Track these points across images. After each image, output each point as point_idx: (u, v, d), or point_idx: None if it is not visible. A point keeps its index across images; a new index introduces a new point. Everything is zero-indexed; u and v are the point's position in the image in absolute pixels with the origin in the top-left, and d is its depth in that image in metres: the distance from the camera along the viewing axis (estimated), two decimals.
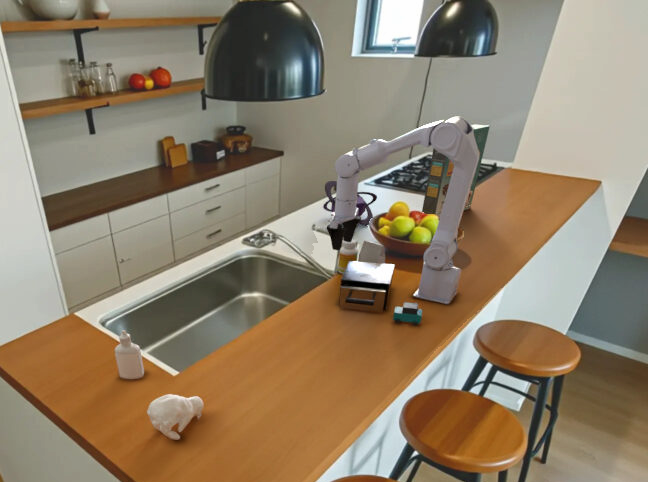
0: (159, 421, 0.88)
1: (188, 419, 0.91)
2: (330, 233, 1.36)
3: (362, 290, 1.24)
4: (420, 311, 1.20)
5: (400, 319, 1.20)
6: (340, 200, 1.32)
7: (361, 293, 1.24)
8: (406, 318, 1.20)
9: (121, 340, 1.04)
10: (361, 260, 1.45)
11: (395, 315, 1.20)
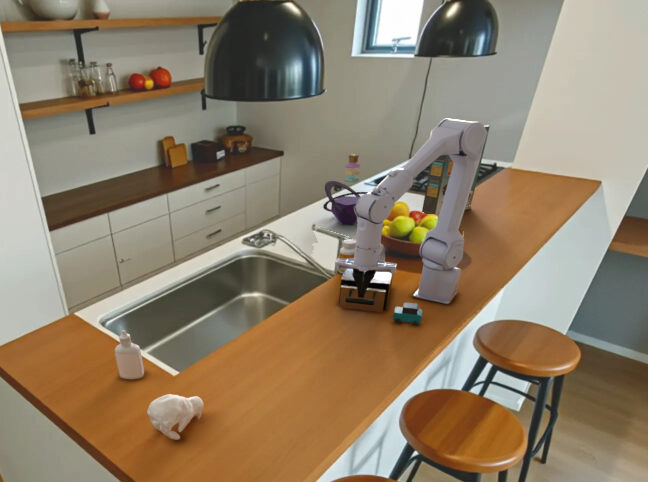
0: (159, 421, 0.88)
1: (188, 419, 0.91)
2: (370, 281, 1.19)
3: None
4: (420, 311, 1.20)
5: (400, 319, 1.20)
6: (379, 246, 1.14)
7: None
8: (406, 318, 1.20)
9: (121, 340, 1.04)
10: None
11: (395, 315, 1.20)
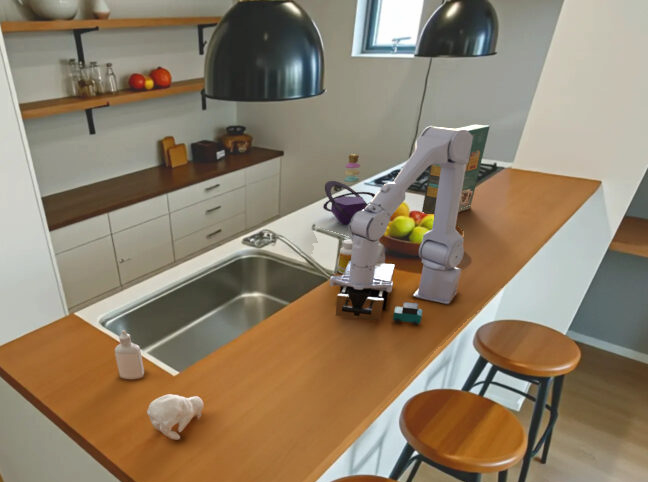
0: (159, 421, 0.88)
1: (188, 419, 0.91)
2: None
3: None
4: (420, 311, 1.20)
5: (400, 319, 1.20)
6: (375, 264, 1.11)
7: None
8: (406, 318, 1.20)
9: (121, 340, 1.04)
10: None
11: (395, 315, 1.20)
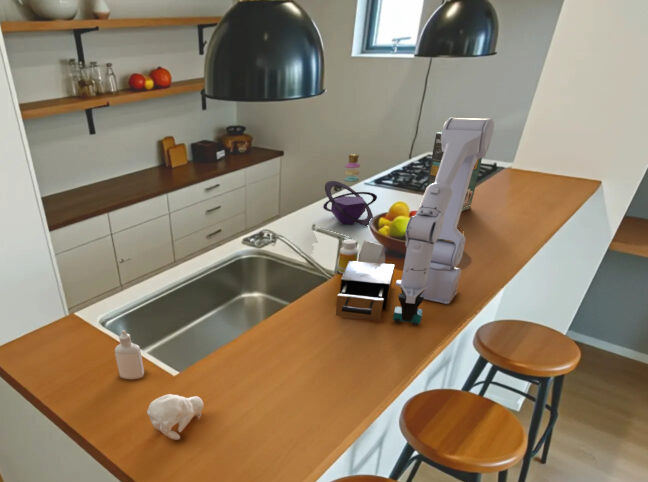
0: (159, 421, 0.88)
1: (188, 419, 0.91)
2: (403, 304, 1.16)
3: (359, 298, 1.20)
4: (420, 311, 1.20)
5: (400, 319, 1.20)
6: (414, 269, 1.12)
7: (358, 301, 1.21)
8: None
9: (121, 340, 1.04)
10: (361, 260, 1.45)
11: (395, 315, 1.20)
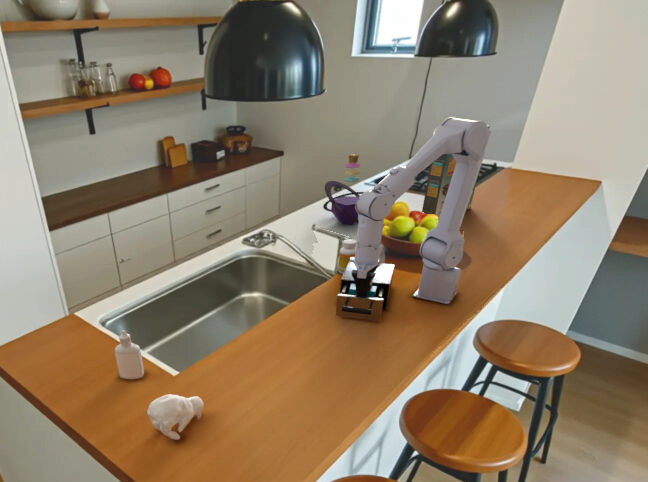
0: (159, 421, 0.88)
1: (188, 419, 0.91)
2: (356, 280, 1.19)
3: (359, 298, 1.20)
4: (374, 287, 1.23)
5: None
6: (365, 245, 1.15)
7: (358, 301, 1.21)
8: None
9: (121, 340, 1.04)
10: None
11: (350, 292, 1.24)
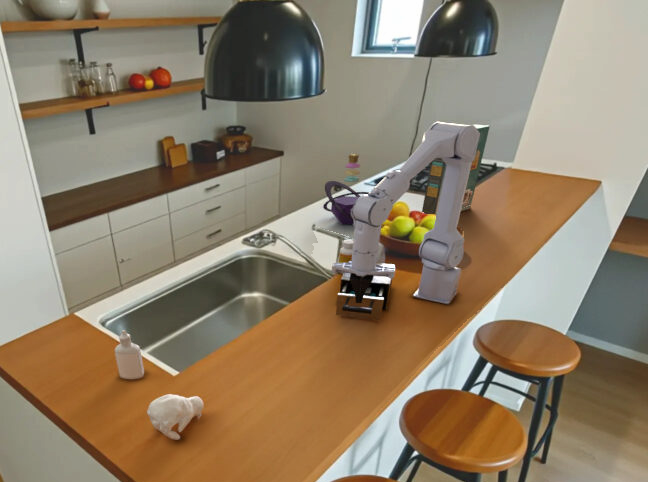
0: (159, 421, 0.88)
1: (188, 419, 0.91)
2: (368, 286, 1.15)
3: None
4: (373, 295, 1.24)
5: None
6: (377, 250, 1.11)
7: None
8: None
9: (121, 340, 1.04)
10: None
11: None
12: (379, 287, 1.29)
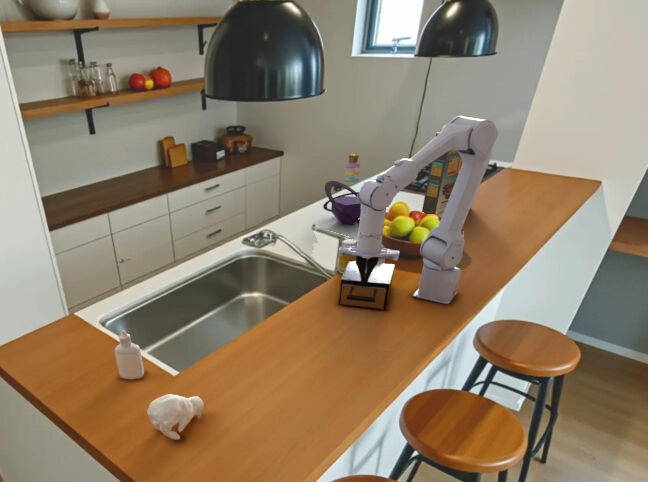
0: (159, 421, 0.88)
1: (188, 419, 0.91)
2: (373, 268, 1.20)
3: (363, 287, 1.25)
4: (376, 285, 1.29)
5: None
6: (382, 233, 1.16)
7: (362, 290, 1.26)
8: None
9: (121, 340, 1.04)
10: None
11: None
12: None
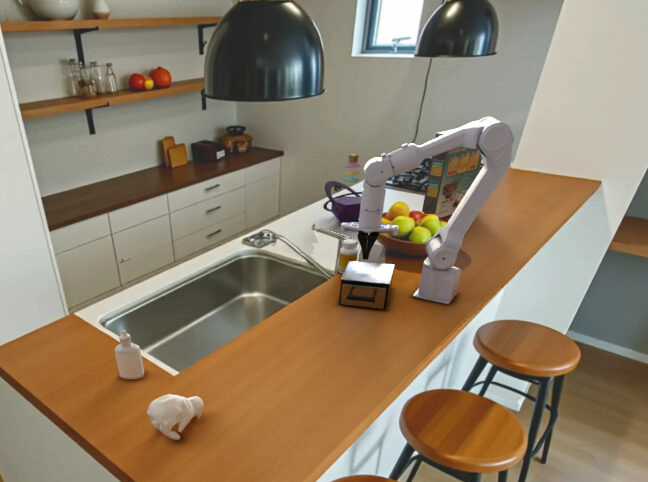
0: (159, 421, 0.88)
1: (188, 419, 0.91)
2: (374, 242, 1.27)
3: (363, 287, 1.25)
4: (376, 285, 1.29)
5: None
6: (382, 208, 1.22)
7: (362, 290, 1.26)
8: None
9: (121, 340, 1.04)
10: (361, 260, 1.45)
11: None
12: None
